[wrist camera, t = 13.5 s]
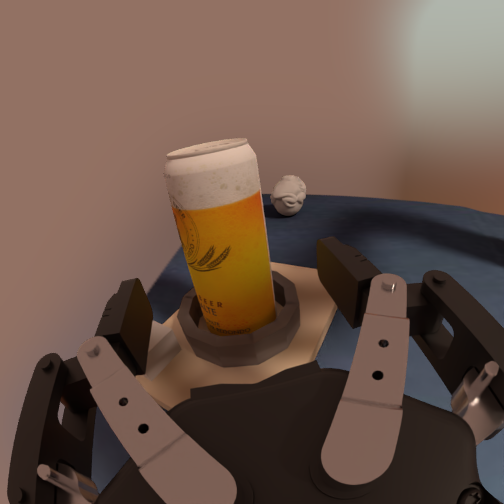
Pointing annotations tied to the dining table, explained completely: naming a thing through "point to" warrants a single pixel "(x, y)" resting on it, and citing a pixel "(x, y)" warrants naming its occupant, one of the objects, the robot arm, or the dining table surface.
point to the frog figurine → (288, 195)
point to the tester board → (291, 358)
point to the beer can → (223, 233)
